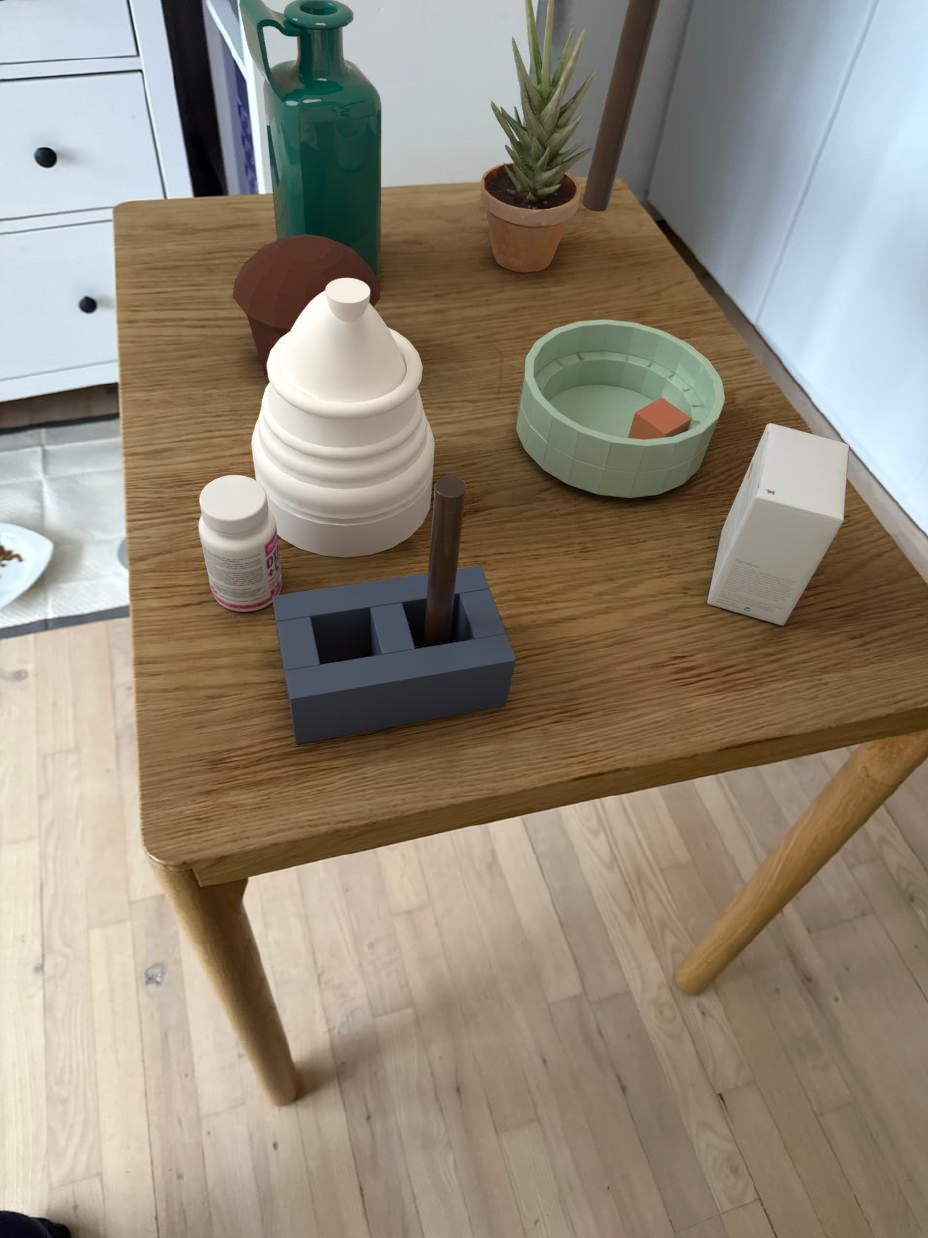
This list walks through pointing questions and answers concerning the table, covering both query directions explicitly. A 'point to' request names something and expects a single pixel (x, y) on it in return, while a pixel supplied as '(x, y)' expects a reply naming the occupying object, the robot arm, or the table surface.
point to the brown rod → (620, 101)
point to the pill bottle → (240, 543)
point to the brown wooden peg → (443, 559)
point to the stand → (389, 655)
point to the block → (659, 421)
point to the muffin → (293, 283)
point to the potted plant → (536, 158)
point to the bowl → (615, 406)
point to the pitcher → (320, 128)
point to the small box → (780, 523)
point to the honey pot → (344, 430)
